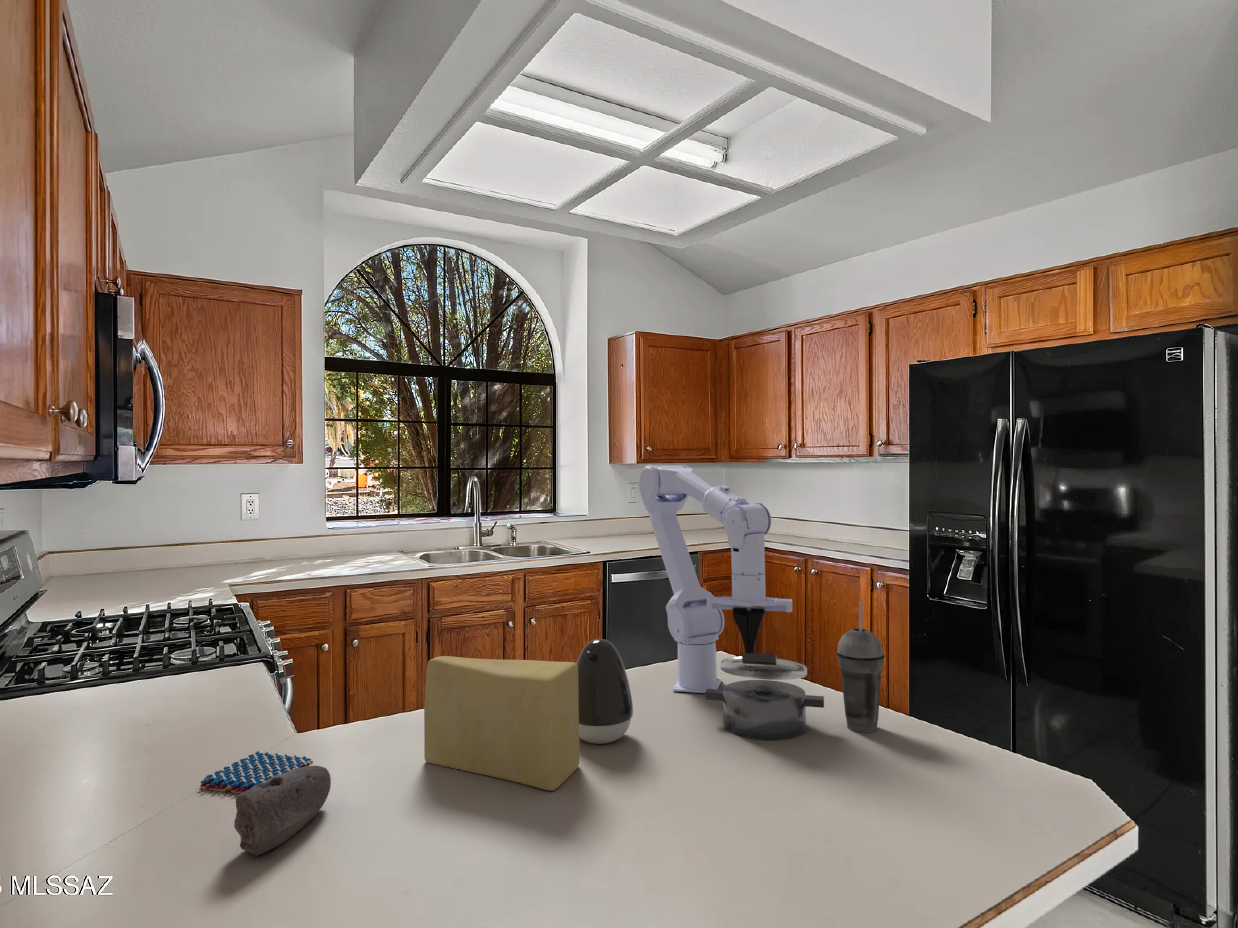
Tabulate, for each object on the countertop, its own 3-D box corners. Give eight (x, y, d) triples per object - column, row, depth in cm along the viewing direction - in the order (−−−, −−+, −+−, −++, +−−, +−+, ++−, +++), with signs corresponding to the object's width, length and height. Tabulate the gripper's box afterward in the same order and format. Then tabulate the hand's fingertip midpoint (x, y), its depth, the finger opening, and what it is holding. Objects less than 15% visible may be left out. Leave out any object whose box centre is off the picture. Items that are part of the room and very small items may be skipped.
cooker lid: (726, 677, 123) (726, 666, 124) (808, 682, 119) (808, 670, 120) (713, 659, 110) (714, 646, 111) (805, 664, 106) (805, 651, 107)
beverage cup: (879, 720, 117) (876, 597, 117) (892, 736, 110) (889, 604, 110) (833, 719, 117) (831, 597, 118) (843, 735, 110) (840, 604, 111)
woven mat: (317, 769, 102) (317, 754, 102) (261, 802, 91) (261, 786, 91) (256, 762, 104) (256, 748, 104) (195, 793, 94) (195, 778, 94)
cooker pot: (712, 708, 124) (712, 676, 124) (824, 716, 119) (823, 683, 119) (700, 734, 111) (699, 698, 112) (824, 744, 106) (823, 707, 107)
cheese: (405, 774, 98) (404, 664, 99) (445, 748, 107) (444, 648, 108) (553, 795, 91) (551, 676, 91) (582, 766, 100) (580, 658, 100)
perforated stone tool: (312, 802, 90) (311, 746, 90) (348, 806, 89) (348, 749, 89) (216, 864, 76) (216, 797, 76) (257, 870, 74) (257, 802, 74)
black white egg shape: (557, 747, 107) (555, 645, 108) (580, 724, 117) (579, 630, 117) (622, 753, 104) (620, 648, 105) (641, 729, 114) (639, 633, 115)
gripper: (702, 575, 123) (704, 655, 122) (789, 577, 118) (791, 659, 118) (709, 570, 129) (711, 646, 129) (792, 571, 125) (794, 650, 125)
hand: (750, 652), depth 124 cm, fingers closed
